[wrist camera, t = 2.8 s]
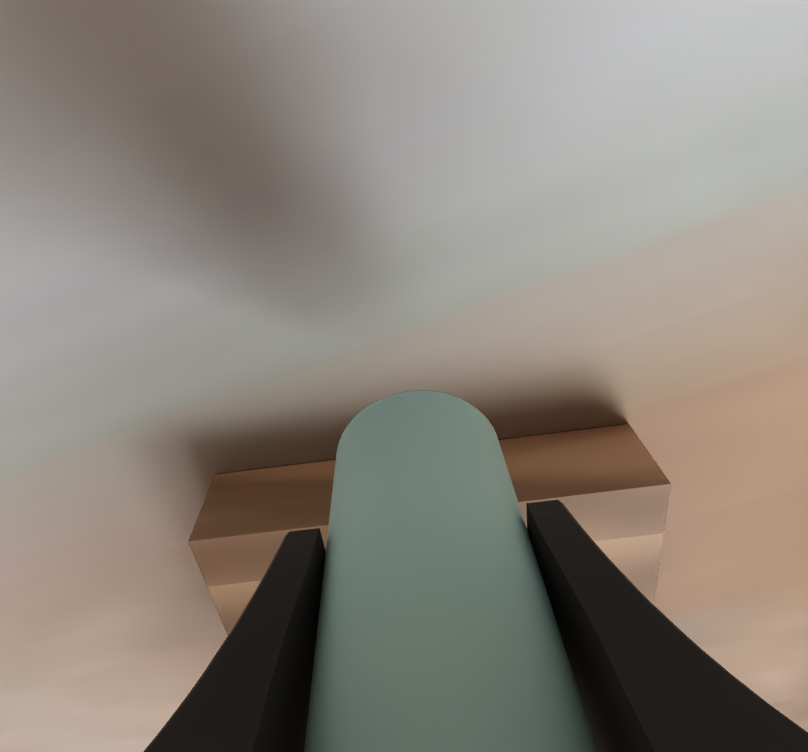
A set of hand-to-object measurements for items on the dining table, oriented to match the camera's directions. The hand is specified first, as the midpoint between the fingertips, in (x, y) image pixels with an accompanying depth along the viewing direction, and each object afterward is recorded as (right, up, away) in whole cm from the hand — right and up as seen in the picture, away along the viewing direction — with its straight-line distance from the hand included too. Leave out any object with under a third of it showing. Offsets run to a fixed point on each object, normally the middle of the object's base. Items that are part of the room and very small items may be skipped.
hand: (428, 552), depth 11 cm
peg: (0, +1, +3) cm, 3 cm away
